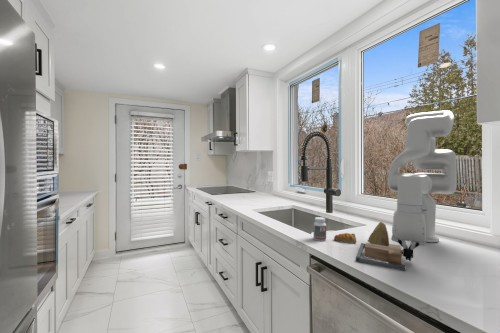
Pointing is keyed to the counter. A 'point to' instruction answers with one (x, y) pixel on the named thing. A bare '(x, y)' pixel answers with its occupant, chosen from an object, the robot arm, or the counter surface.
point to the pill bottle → (320, 229)
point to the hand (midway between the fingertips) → (407, 259)
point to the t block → (384, 252)
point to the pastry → (346, 238)
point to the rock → (379, 235)
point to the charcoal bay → (377, 262)
